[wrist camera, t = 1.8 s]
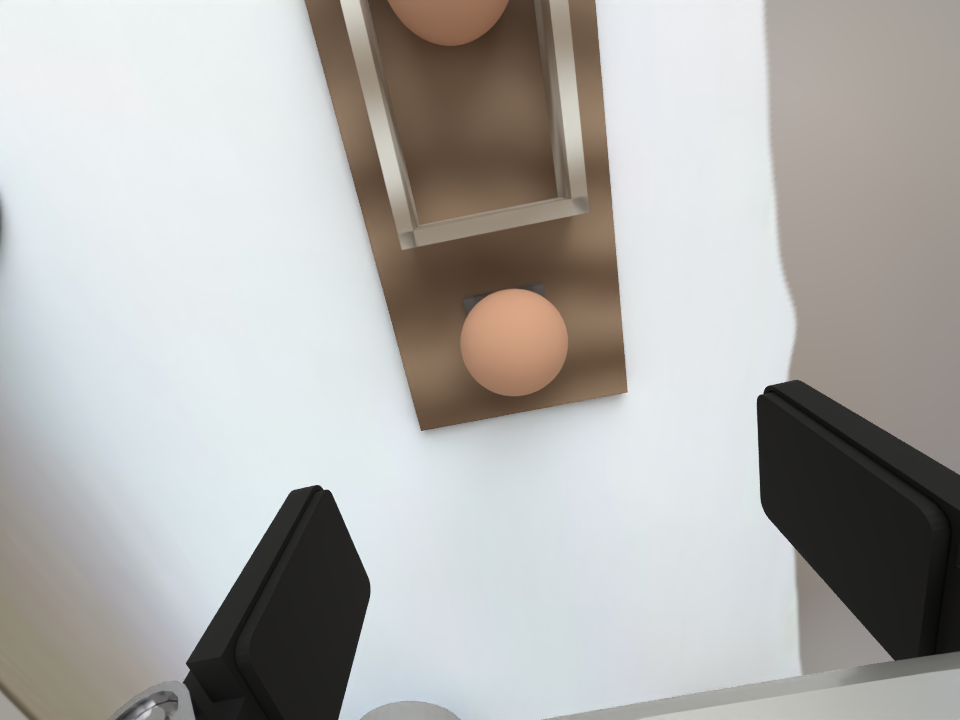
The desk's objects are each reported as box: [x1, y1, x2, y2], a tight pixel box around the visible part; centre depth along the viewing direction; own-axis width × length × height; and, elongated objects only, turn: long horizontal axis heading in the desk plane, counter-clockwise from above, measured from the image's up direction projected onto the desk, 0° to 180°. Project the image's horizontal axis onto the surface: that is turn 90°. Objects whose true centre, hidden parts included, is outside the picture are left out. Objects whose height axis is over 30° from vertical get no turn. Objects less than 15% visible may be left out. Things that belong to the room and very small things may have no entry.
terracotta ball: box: [460, 289, 568, 396], centre depth 26 cm, size 6×6×6 cm
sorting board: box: [305, 0, 627, 431], centre depth 24 cm, size 30×14×4 cm, turn 11°
